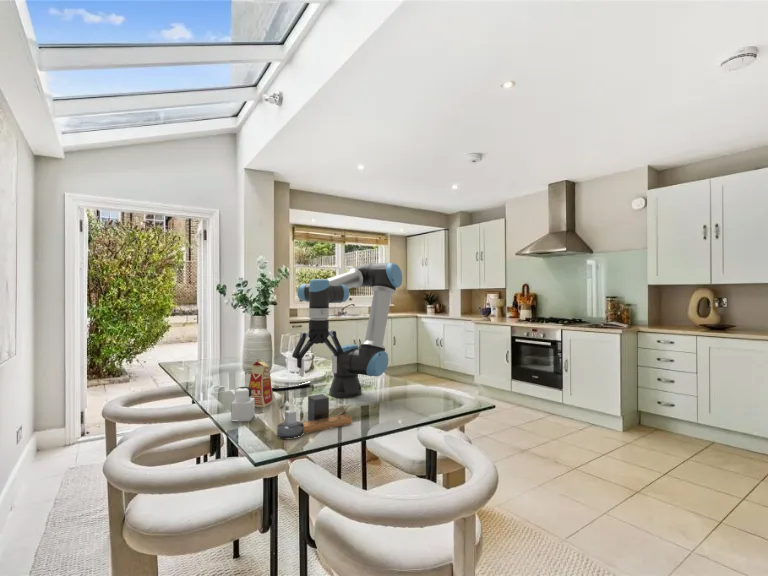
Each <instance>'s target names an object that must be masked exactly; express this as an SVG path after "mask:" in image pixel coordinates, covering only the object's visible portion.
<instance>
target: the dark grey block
mask: <svg viewBox="0 0 768 576" xmlns="http://www.w3.org/2000/svg"><path fill="white" fill-rule="evenodd" d="M329 415H330V398H329V397H328V396H326V395H325V394H322V393H321V394H320V393H319V394H314V395H308V396H307V420H308V421H313V420H318V419H324V418H329Z"/></svg>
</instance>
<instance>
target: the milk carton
mask: <svg viewBox="0 0 768 576" xmlns="http://www.w3.org/2000/svg"><path fill="white" fill-rule="evenodd" d="M270 375H271V370H270V366H269V365H268V364H267V363H266V362H265V359H260V358H259V359H258V358H256V362H254V363H253V364H252V365H251V371H250V377H249V383H248V387H250V388H251V398H254V399H255V405H254V408H255V407H257V408H266V407H267V406H269V405H271V404H272V403H273V402H274V393H273V390H272V383H271V376H270Z"/></svg>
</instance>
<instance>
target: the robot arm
mask: <svg viewBox="0 0 768 576" xmlns="http://www.w3.org/2000/svg"><path fill="white" fill-rule="evenodd" d="M402 284H403V272H402V270H401V268H400V266H399V265H398V263H395V262H394V263H393V262H392V263H391V262H382V263H381V262H380V263H379V262H378V263H376V262H375V263H372V262H371V263H366V264H362V265H359V266H356V267H352V268H350V269H349V270H348V271H347V272H344V273H341V274H338V275H335V276H331V277H329V278H325V279H324V278H312V279H310V280H309V283H302V284H300V285H299V286H298V289H297V297H298V299H299V300H300V301H302V302H307V303H308V304H309V305H308V306H309V307H308V319H309V320H308V332H303V331H302V332H300V337H299V340H298V342H297V345H296V346H295V349H294V350H293V353H292V355H291V356H292V358H294V359H296V367H297V368H298V372H299V376H301V377H304V375H305V372H304V371H305V359H304V356H305V355H306V354H307V353H308V351H309V350H310V349H311V347H312V346H313V345H314V344H315V345H319V344H324V345H326V346H327V348H328V349H329V350H330V351H331V353H332V354H333V355H331V373H333V378H332V382H331V385H330V389H329V395H330V397H334V398H340V399H342V398H343V399H351V398H356V397H359V396H362V393H363V392H362V391H363V389H362V385H361V382H360V379H359V375H360V376H361V375H363V376H366V377H367V376H368V377H380V376H382V375H383V374H384V373H385V372H386V370H387V368H388V365H389V354H388V352H387V351H386V347H385V346H384V340H385V334H386V329H387V322H388V317H389V312H390V307H391V306H390V305H391V301H392V296H393V295H394V294H395V293H396V291H397V290H396V289H397V288H400V287H401V286H402ZM363 287H364V288H365V287H370V288H371V290H372V291H373V293H372V294H373V295H372V301H371V304H370V305H371V306H370V310H369V311H370V312H369V318H368V322H367V326H366V332H365V336H364V337H365V338H364V341H363V342H362V343H360V346H359V345H358V344H345V345H341V343H340V341H339V340H338V337H337V331H336V330H331V331H329V329H330V326H329V323H330V322H329V316H330V313H329V312H330V311H329V310H330V304H336V303H339V304H341V303H345V302H347V300H349V297H350V289H351V288H352V289H353V288H355V289H357V288H363ZM328 337H331V340H332V342H333V344H334V345H333V344H332V343H331V340H329V339H328ZM307 338H309V339H308V340H307V342H306V343H305V341H306V339H307ZM304 344H305V345H304Z"/></svg>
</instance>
